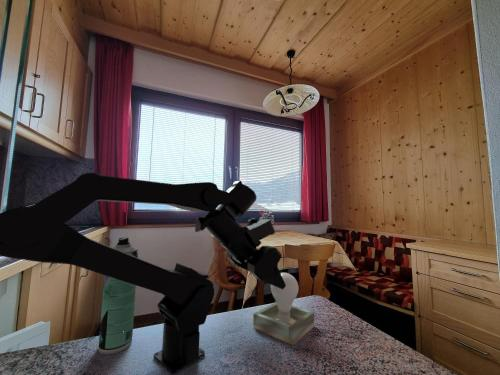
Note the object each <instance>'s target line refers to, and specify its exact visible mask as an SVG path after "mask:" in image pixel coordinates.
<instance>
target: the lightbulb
mask: <svg viewBox="0 0 500 375" xmlns="http://www.w3.org/2000/svg"><path fill="white" fill-rule="evenodd" d="M280 273H281V276H282V278H283V280H284V282H285V284H286V286H285V288H284V289H280V288H278V287H276V286H273V285H271V284H270V291H271V293H272V297H273V298H274V300H275V302H276V303H277V307H278V313H279V314H278V315H279V316H278V320H279V321H281V322H284V323H289V322H290V310H291V307H292V306H293V303H294V301H295V300H296V298H297V296H298V293H299V283H298V281H297V279H296V278H295V276H293V275H292V274H290V273H288V272H280Z"/></svg>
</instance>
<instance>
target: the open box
mask: <svg viewBox="0 0 500 375" xmlns="http://www.w3.org/2000/svg"><path fill="white" fill-rule="evenodd" d="M278 314H279V313H278V307H277V303H276V301H275V302H273V303H271V304H269V305H268V306H266V307H264V308H262V309H260V310H259V311H256V312H255V313H253V324H252V326H253V329H254V330H257V331H259V332H261V333H263V334H267V335H268V336H271V337H273V338H275V339H278V340H281V341H282V342H285V343H287V344H289V345H292V346H295V345H296V343H298V342H299V341H300V340H301V339H302V338H304V336H305V335H306V334H307V333H308V332H310V331H311V330H312V329H314V327H315V312H314V311H312V310H308V309H304V308H302V307H297V306H295V305H292V307H291V310H290V322H289V323H284V322H281V321H279V320H278V316H279V315H278Z"/></svg>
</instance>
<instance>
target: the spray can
mask: <svg viewBox="0 0 500 375" xmlns="http://www.w3.org/2000/svg"><path fill="white" fill-rule="evenodd" d="M129 240H130V239H129V237H120V238H118V241H117V243H116V244H115V246H114V247H113V248H114V249H117V250H119V251H122V252H124V253H127V254H129V255H132V256H134V257H137V258H139V253H138V251H139V250H138V248H136V247H134V246H132V243H130V242H129ZM136 288H137V286H136V285H133V284H130V283H127V282H124V281H121V280H118V279H115V278H112V277H109V276H106V275H104V280H103V292H102V302H101V303H102V304H101V316H100V324H99V325H100V326H99V338H98V349H97V350H98V352H99V354H101V355H113V354H117V353H120V352H123V351H125V350H126V349H128V348H129V347H130V346H131V345H132V344H133V332H134V319H135V306H136V305H135V303H136V291H137V290H136ZM123 331H124V332H123Z"/></svg>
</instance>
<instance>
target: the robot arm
mask: <svg viewBox="0 0 500 375" xmlns="http://www.w3.org/2000/svg"><path fill="white" fill-rule="evenodd" d="M96 201H98V202H110V203H112V202H113V203H114V202H115V203H131V204H133V203H134V204H146V205H147V204H150V205H166V206H171V207H173V208H177V209H180V210H184V211H189V212H192V213H193V212H194V213H197V212H198V213H200V212H207V213H206V214H205V215H204V216H202V217H201V216H199V217H196V218H195V227H194V232H195V233H199V232H202V231H204V230H205V229H207V231H208V232H209V233H210V234H211V235H212V236H213V237H214V238H215V239H216V240H217V241H218V242H219V245H220V246H221V247H222V248H224V249H225V250H226V258H227V259H228V260H229V261H230V262H231V263H232V264H234V265H235V266H237V267H239V268H241V269H243V270H244V271H247V272H249V273H250V274H251V275H252V276H253V277H254V278H256V279H257V280H259V281H260V282H263V283H266V284H269V285H270V286H271V285H273V286H276V287H278V288H280V289H284V288H285V286H286V284H285V282H284V280H283V278H282V276H281V273H282V272H281V270H280V269H279V266H278V265H279V262H280V261H281V258H282V257H283V256H282V255H283V254H282V253H281V252H280V250H279V249H278V248H277V247H274V246H270V245H262V246H261V247H260V245H261V244H262V241H261V240H263V239H265V238H266V237H268V236H272V235H274V234H275V233H276V231H275V228H274V225H273V223H272V219H268V218H263V219H258V220H257V219H256V218H255V217H254V218H253V217H252V218H250V219H248V220H247V224H246V226H243V225H241V224H240V222H238V221H237V219H236V218H242V217H244V216H245V214H246V213H247V212H248V211H249V209H250V208H251V207H252V206H253V205H254V204H255V202H256V201H257V194H256V192H255V191H254V190H253V189H252V188H251V187H250V186H248V185H246V184H243V182H242V181H241V180H236V181H234V182H233V183H232V184H231V185H230V187H229V188H228V189H227V190H226V191H225V190H221V189H219V188H218V185H217V184H216V183H214V182H211V181H204V182H190V183H189V182H187V183H176V184H175V183H167V182H159V181H151V180H150V181H149V180H143V179H136V178H126V177H119V176H118V177H117V176H110V175H109V176H108V175H102V174H100V173H97V172H85V173H82V174H81V175H79V176H78V177H77V178H76V179H75V180H74V181H72V182H71V183H68V184H67V185H66V186H64V187H62V188H60V189H59V190H57V191H55V192H53V193H52V194H50V195H48V196H46V197H45V198H43V199H41V200H40V201H38V202H36V203H35V204H33V205H32V206H19V207H13V208H10V209H8V210H7V209H6V210H5V211H2V212H1V213H0V256H1V257H4V258H9V259H16V260H23V261H29V262H30V261H31V262H36V263H45V264H47V263H49V264H59V265H60V264H61V265H62V264H63V265H71V266H75V267H78V268H81V269H84V270H87V271H90V272H94V273H97V274H100V275H103V276H105V275H106V276H109V277H112V278H115V279H118V280H121V281H124V282H127V283H130V284H133V285H136V287H140V288H143V289H147V290H149V291H152V292H156V293H159V294H161V295H163V298H161V300H160V301H159V302H158V303H157V304H156V305H157V309H158V312H159V315H160V316H162V317H163V328H162V329H163V331H162V332H163V333H162V347H161V350H159V351H157V352H155V353H154V354H153V359H154V360H156V362H158V363H159V364H160V365H162V366H163V367H164V368H165V369H166V370H168V371H169V372H170V373H171V374H176V373H177V372H179V371H181V370H182V369H184V368H186V367H187V366H189V365H191V364H192V363H195V362H196V361H197V360H200V358H202V357H205V354H206V351H205V350H203V349H202V348H201V347H200V337H201V336H200V326H201V325H202V326H203V325H205V323H206V321H207V316H208V314H209V311H210V307H211V304H212V302H213V299H214V297H215V288H214V286H215V285H214V283H213V281H211V280H210V279H208V278H209V276H210V275H208V274H206V273H204V272H201V271H199V270H195V269H194V268H192V267H189V266H187V265H185V264H181V263H179V262H175V263H176V264H175V267H174V269H170V268H169V269H168V268H164V267H162V266H158V265H156V264H154V263H151V262H149V261H146V260H144V259H141V258H139V257H138V258H137V257H134V256H132V255H129V254H127V253H124V252H122V251H119V250H117V249H114V247H111V246H109V245H107V244H103V243H101V242H98V241H96V240H94V239H93V238H92V239H91V238H89V237H87V236H85V235H84V234H82V233H81V232H79V231H78V230H76V229H74V228H73V227H71V226H69V225H68V224H66V223H68V221H70V220H71V219H73V218H74V217H76V215H78V214H79V213H81V212H82V211H83V210H85V209H86V208H87V207H88V206H90V205H91V204H93V203H94V202H96ZM258 247H259V249H258Z"/></svg>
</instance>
